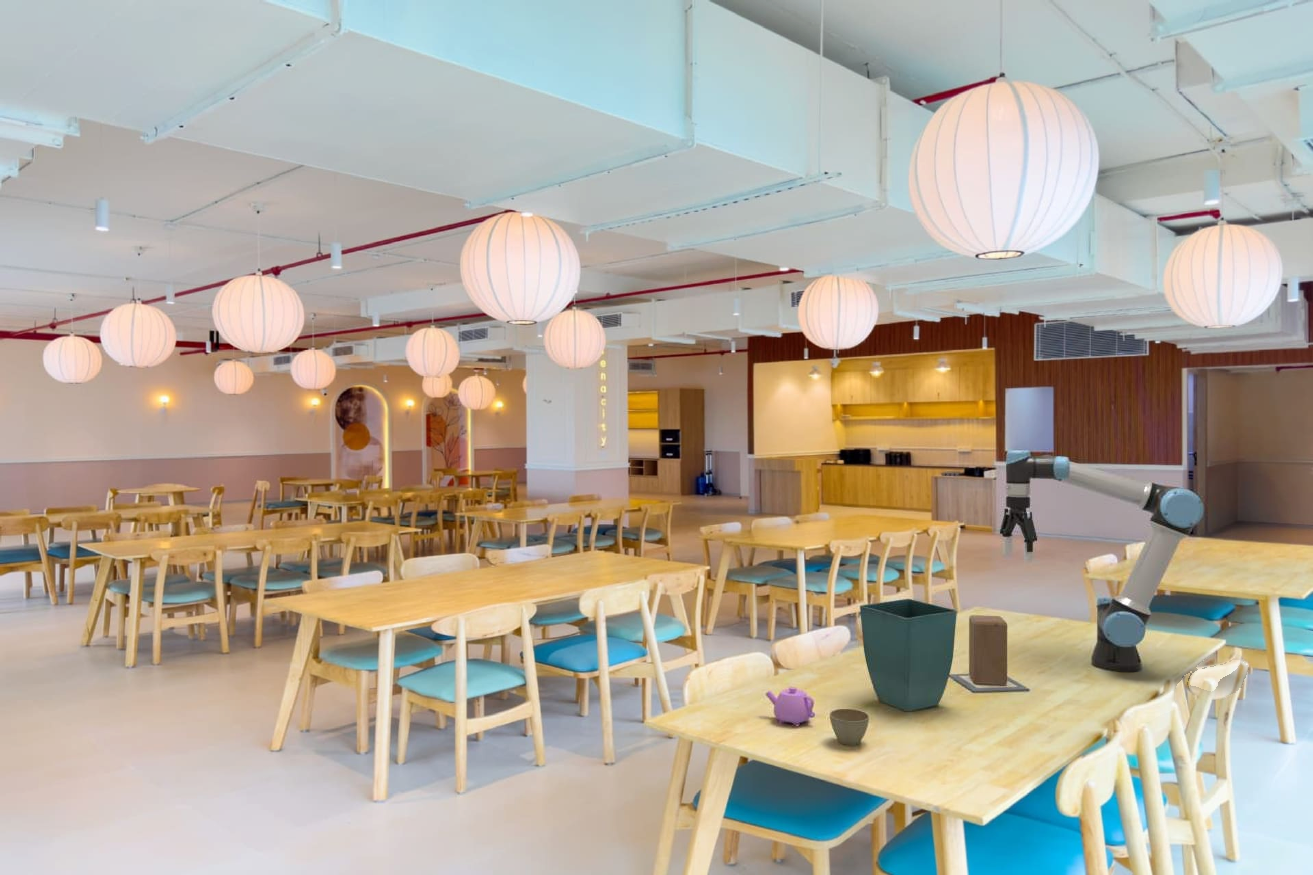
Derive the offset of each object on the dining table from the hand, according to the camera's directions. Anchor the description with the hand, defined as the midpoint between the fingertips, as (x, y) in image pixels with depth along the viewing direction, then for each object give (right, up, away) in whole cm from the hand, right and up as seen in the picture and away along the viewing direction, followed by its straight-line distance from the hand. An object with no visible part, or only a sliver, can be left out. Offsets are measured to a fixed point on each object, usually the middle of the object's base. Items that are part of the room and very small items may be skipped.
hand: (1017, 558), depth 294 cm
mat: (-17, -37, -18) cm, 45 cm away
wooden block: (-17, -36, -18) cm, 44 cm away
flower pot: (-48, -37, -39) cm, 72 cm away
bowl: (-73, -38, -70) cm, 108 cm away
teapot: (-85, -38, -53) cm, 107 cm away
